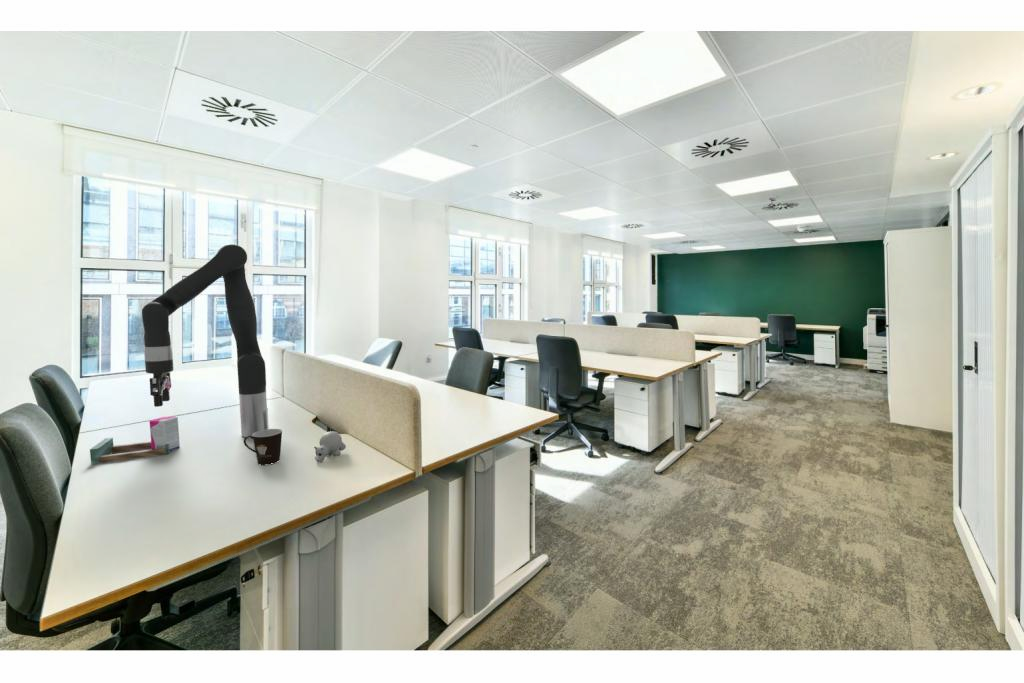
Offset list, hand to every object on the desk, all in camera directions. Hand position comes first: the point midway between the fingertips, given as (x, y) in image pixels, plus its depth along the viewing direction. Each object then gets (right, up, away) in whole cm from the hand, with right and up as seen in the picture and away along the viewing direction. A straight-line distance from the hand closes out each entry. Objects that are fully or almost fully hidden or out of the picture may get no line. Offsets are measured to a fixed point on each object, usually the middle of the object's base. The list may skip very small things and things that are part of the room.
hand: (162, 403), depth 146 cm
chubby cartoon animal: (+62, -18, -5) cm, 64 cm away
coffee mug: (+42, -18, -8) cm, 47 cm away
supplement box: (0, -17, +2) cm, 17 cm away
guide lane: (-7, -17, -2) cm, 19 cm away
